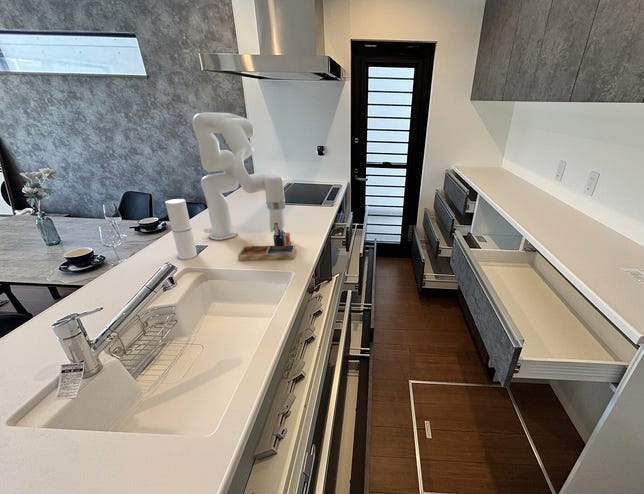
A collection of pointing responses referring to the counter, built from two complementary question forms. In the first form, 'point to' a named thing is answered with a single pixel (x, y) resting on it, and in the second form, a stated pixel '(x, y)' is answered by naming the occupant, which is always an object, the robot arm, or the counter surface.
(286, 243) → the red block
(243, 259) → the tray
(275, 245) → the blue block
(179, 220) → the cylindrical container
